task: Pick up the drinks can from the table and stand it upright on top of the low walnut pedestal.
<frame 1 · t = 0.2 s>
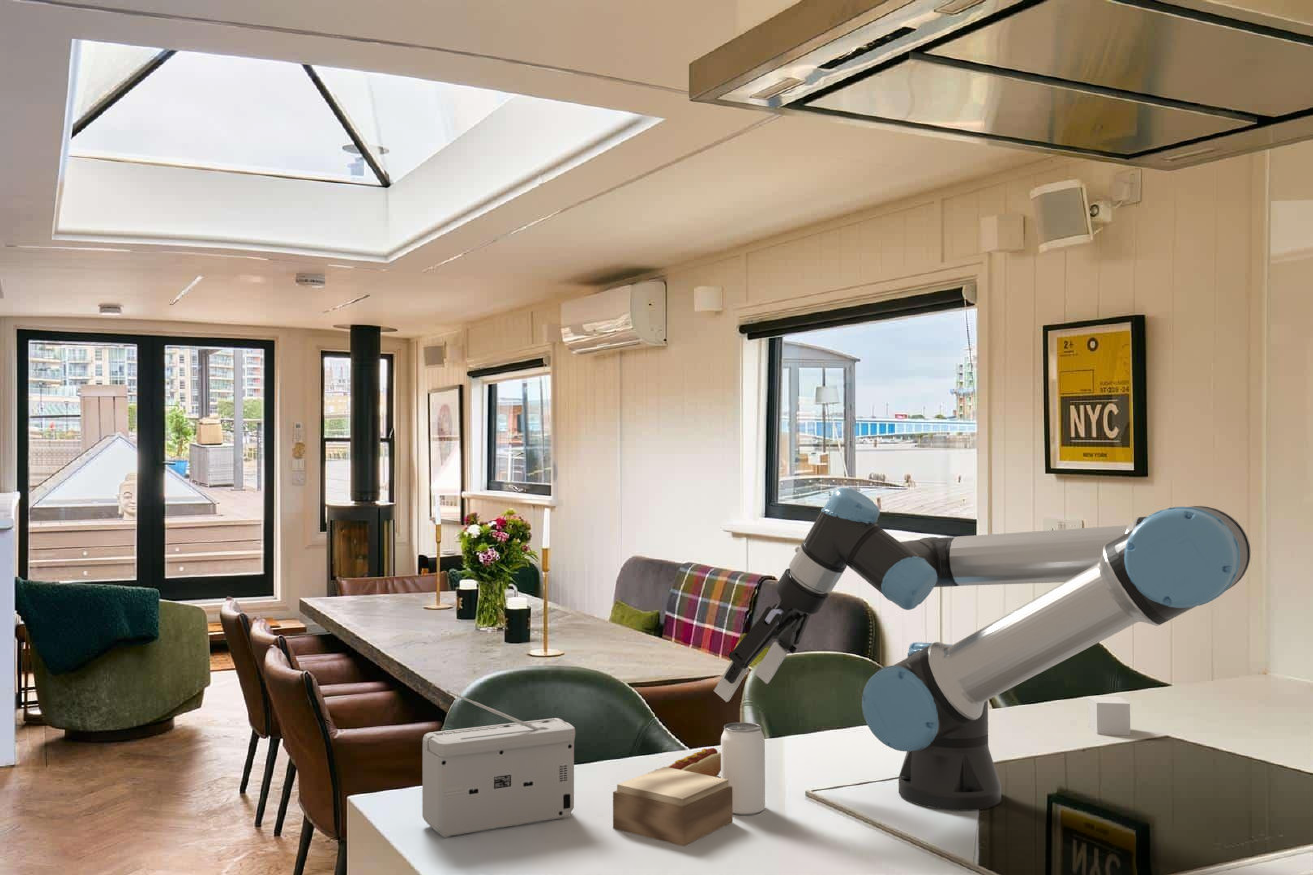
hand: (741, 686, 169), 15 cm above the counter, tool tilted 35°, fingers open, 13 cm apart
can: (743, 810, 156), on the counter
stereo radio cassette player: (500, 823, 150), on the counter
food: (693, 786, 169), on the counter
grey cube: (1109, 732, 203), on the counter
pedestal: (673, 825, 149), on the counter
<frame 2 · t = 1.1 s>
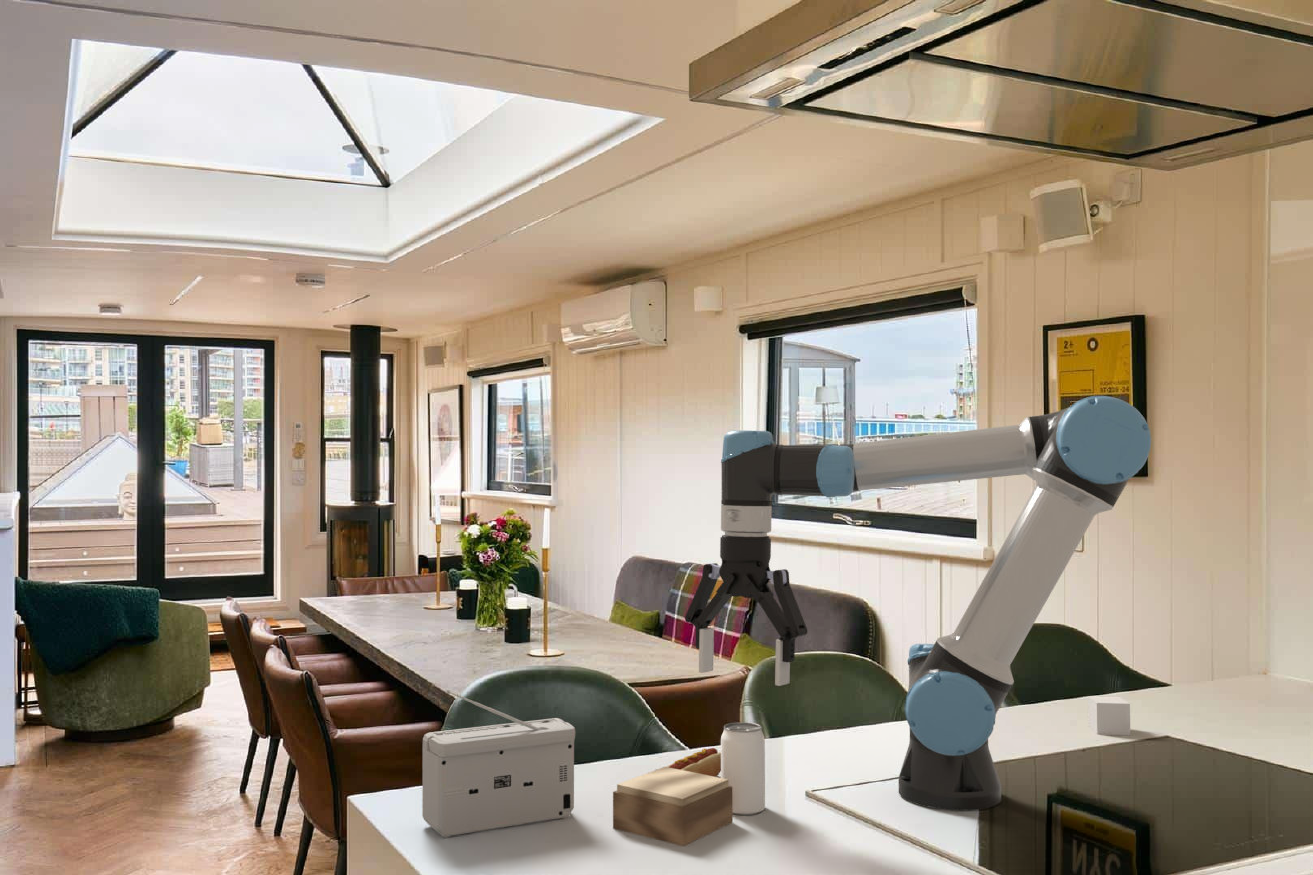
hand: (743, 677, 157), 19 cm above the counter, tool pointing down, fingers open, 13 cm apart
nothing on the counter moved.
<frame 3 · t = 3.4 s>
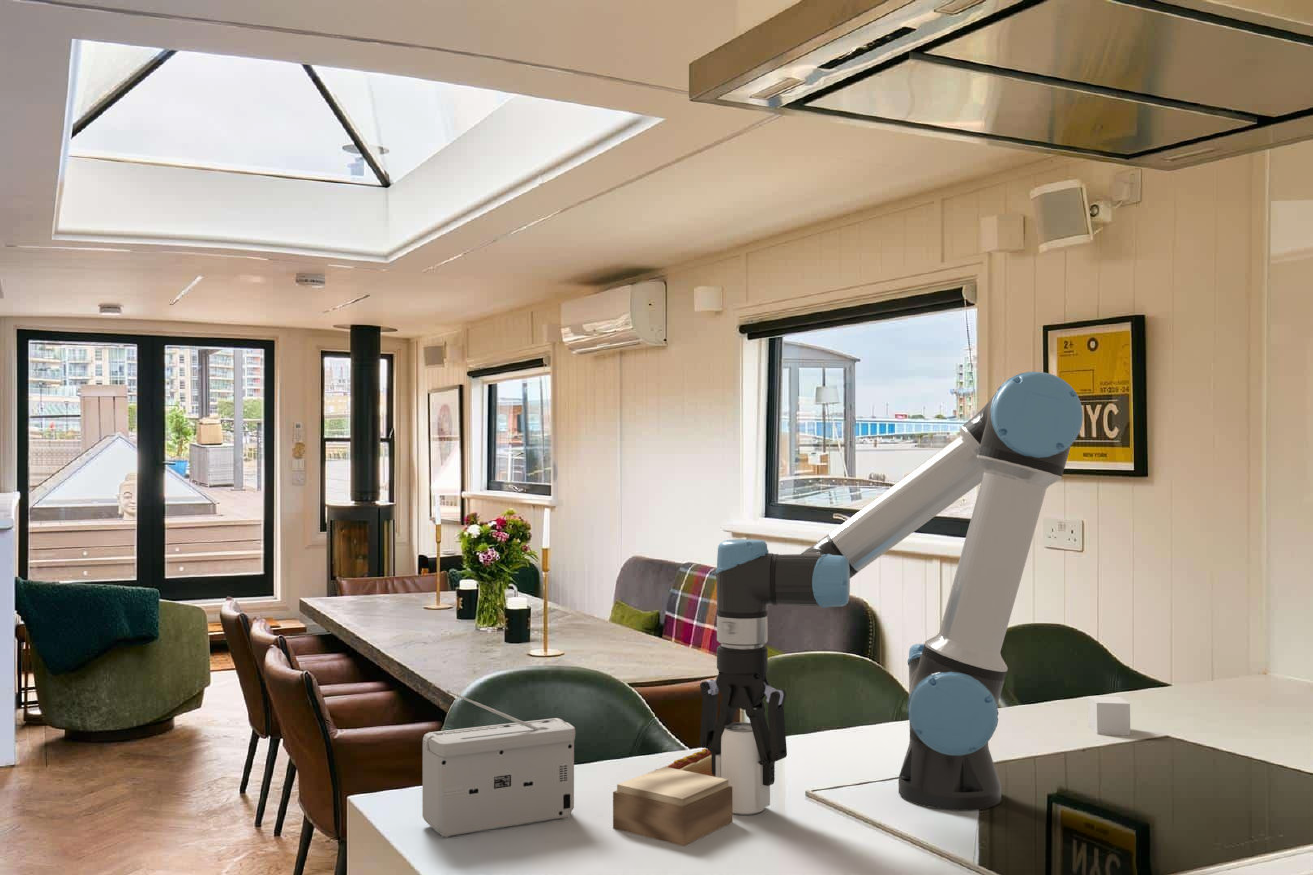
hand: (742, 801, 156), 1 cm above the counter, tool pointing down, fingers closed on can, 6 cm apart
can: (743, 810, 156), on the counter, touching gripper
everything else where it was.
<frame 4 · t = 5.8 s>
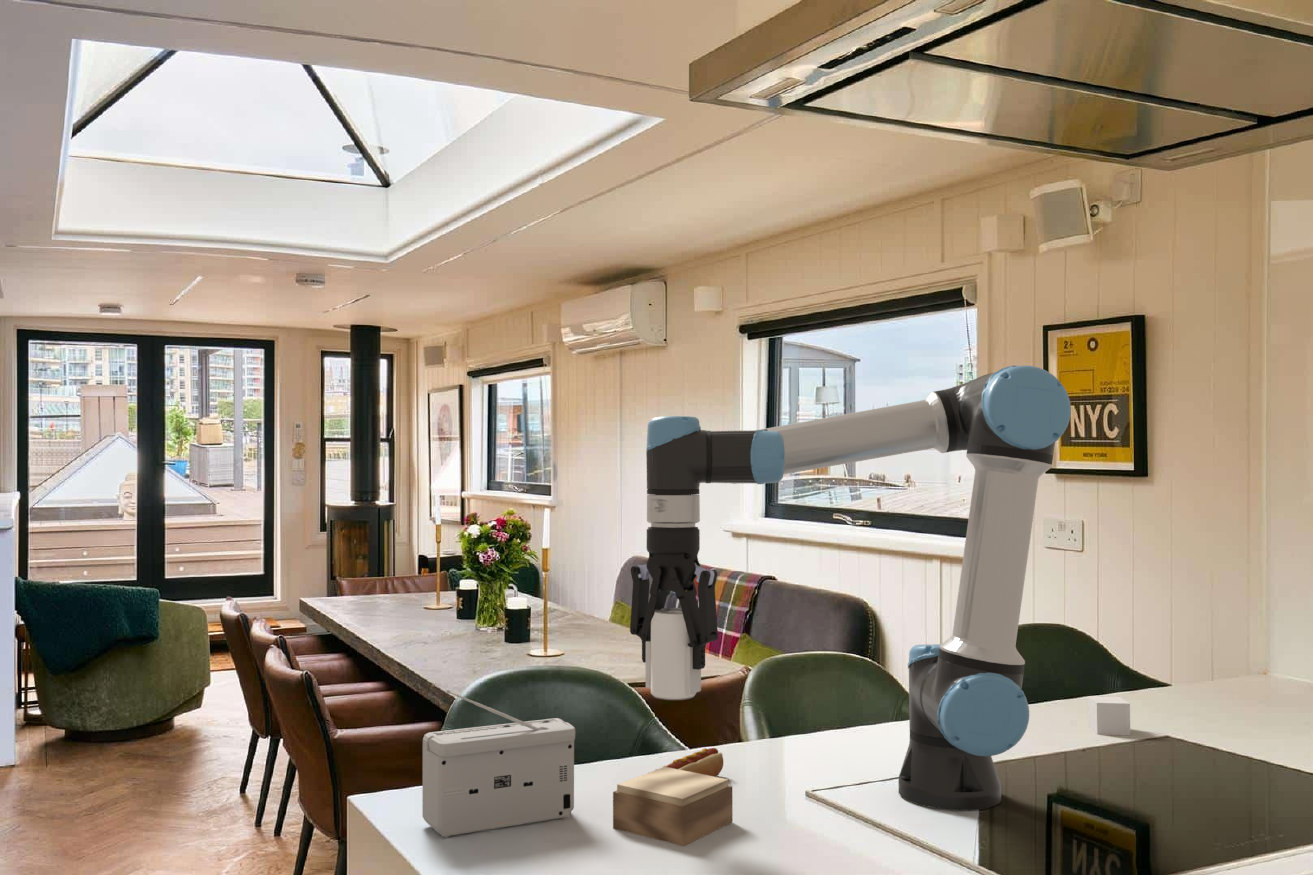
hand: (673, 688, 150), 19 cm above the counter, tool pointing down, fingers closed on can, 6 cm apart
can: (673, 697, 149), point 18 cm above the counter, touching gripper
everything else where it was.
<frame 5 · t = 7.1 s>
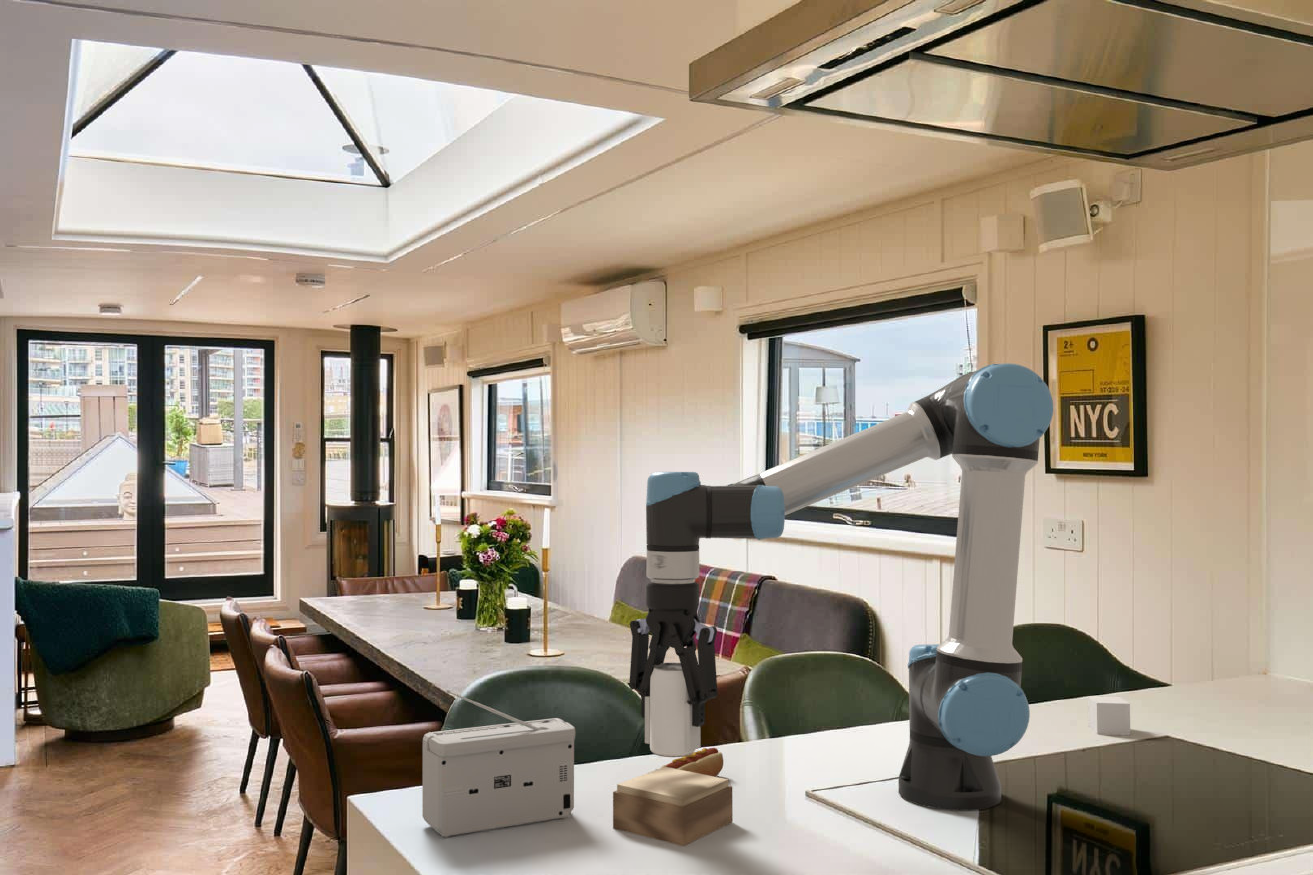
hand: (672, 744, 149), 11 cm above the counter, tool pointing down, fingers closed on can, 6 cm apart
can: (672, 753, 149), point 10 cm above the counter, touching gripper
everything else where it was.
when the fingers open (8 cm above the counter, at t = 8.0 s): can drops 1 cm, resting on pedestal.
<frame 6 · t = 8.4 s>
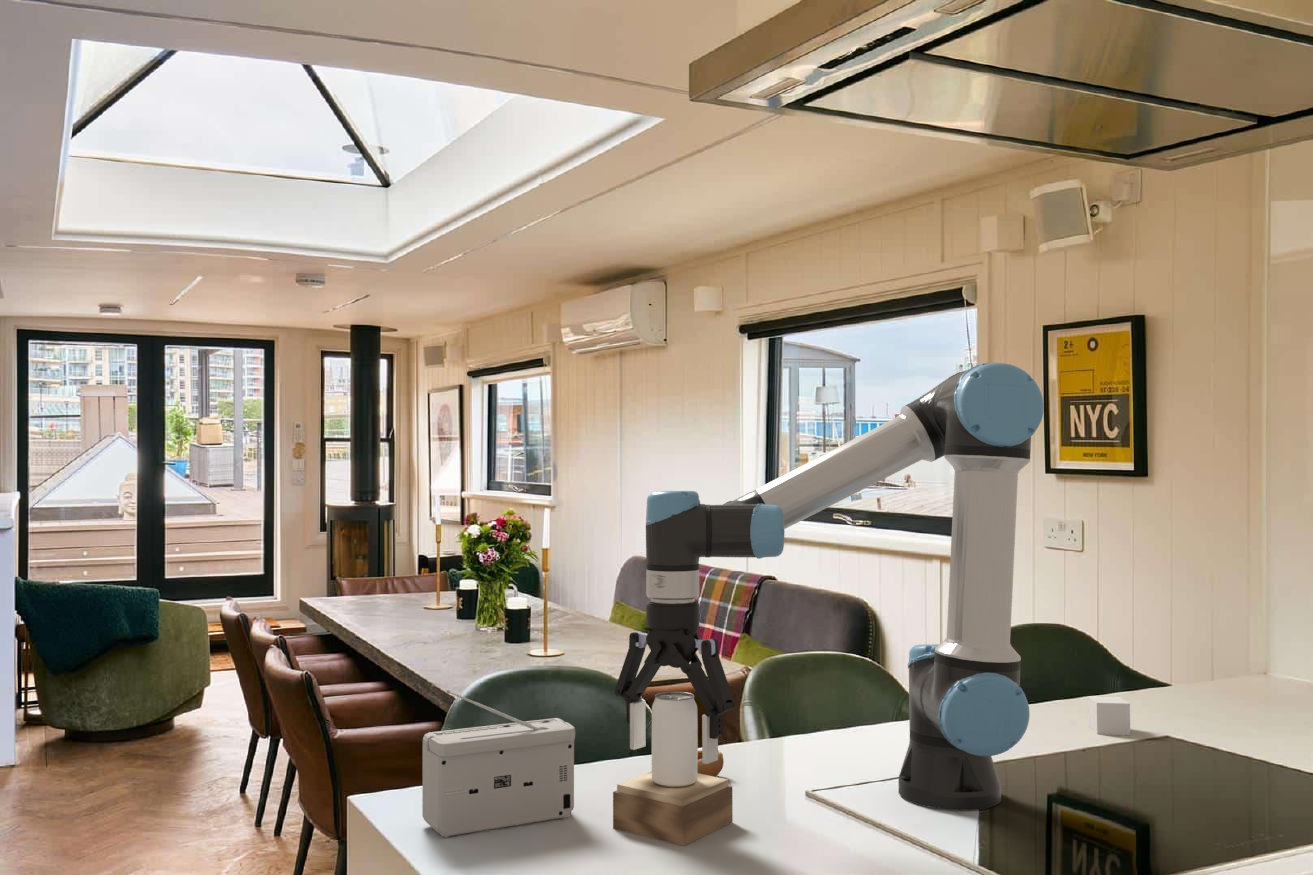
hand: (673, 754, 149), 10 cm above the counter, tool pointing down, fingers open, 12 cm apart
can: (674, 783, 149), point 6 cm above the counter, touching pedestal
everything else where it was.
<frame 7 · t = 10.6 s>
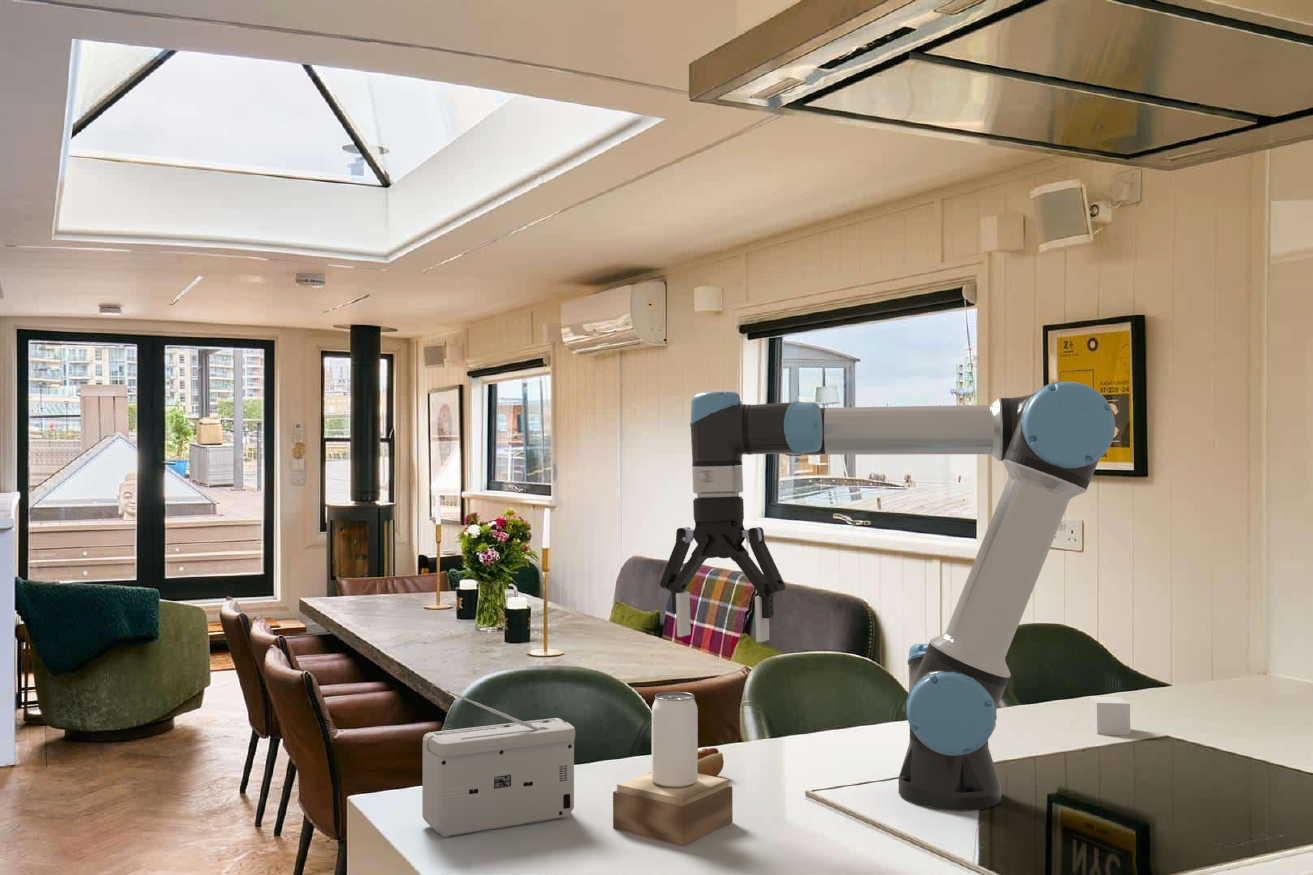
hand: (722, 638, 158), 25 cm above the counter, tool pointing down, fingers open, 13 cm apart
nothing on the counter moved.
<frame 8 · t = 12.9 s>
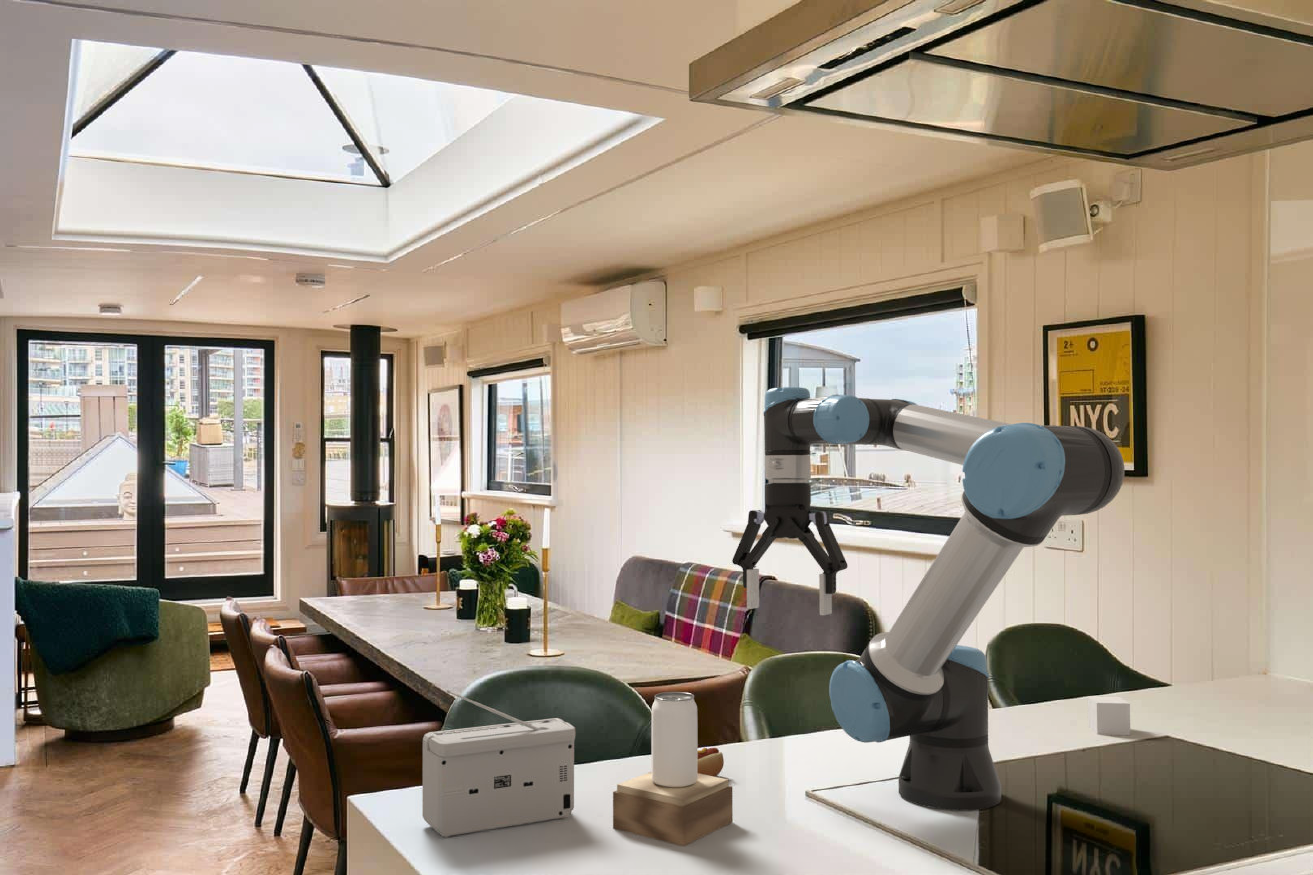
hand: (788, 611, 174), 27 cm above the counter, tool pointing down, fingers open, 13 cm apart
nothing on the counter moved.
at the end: can inside the target area on the pedestal (0.2 cm from its centre), point 5.8 cm above the pedestal's base; can tilted 0°; the gripper is holding nothing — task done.
